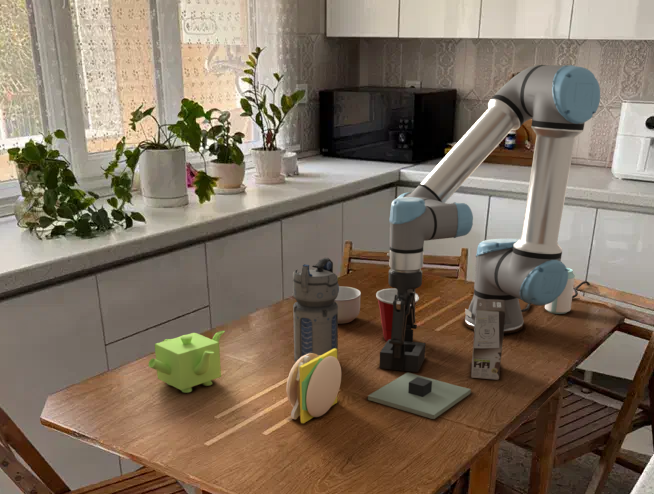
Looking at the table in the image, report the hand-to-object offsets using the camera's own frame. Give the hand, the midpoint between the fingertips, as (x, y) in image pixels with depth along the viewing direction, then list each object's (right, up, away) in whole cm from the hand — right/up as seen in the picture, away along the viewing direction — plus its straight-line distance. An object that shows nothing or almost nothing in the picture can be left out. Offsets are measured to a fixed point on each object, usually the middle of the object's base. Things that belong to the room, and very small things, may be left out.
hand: (402, 362), depth 184 cm
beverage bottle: (-20, -1, 0) cm, 20 cm away
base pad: (+2, -8, -17) cm, 19 cm away
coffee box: (+19, -3, -5) cm, 19 cm away
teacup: (-15, +12, +30) cm, 36 cm away
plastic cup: (0, +6, +15) cm, 16 cm away
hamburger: (-21, -11, -23) cm, 33 cm away
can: (+47, +15, +37) cm, 62 cm away
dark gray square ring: (0, 0, 0) cm, 0 cm away
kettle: (-48, -5, -11) cm, 49 cm away
